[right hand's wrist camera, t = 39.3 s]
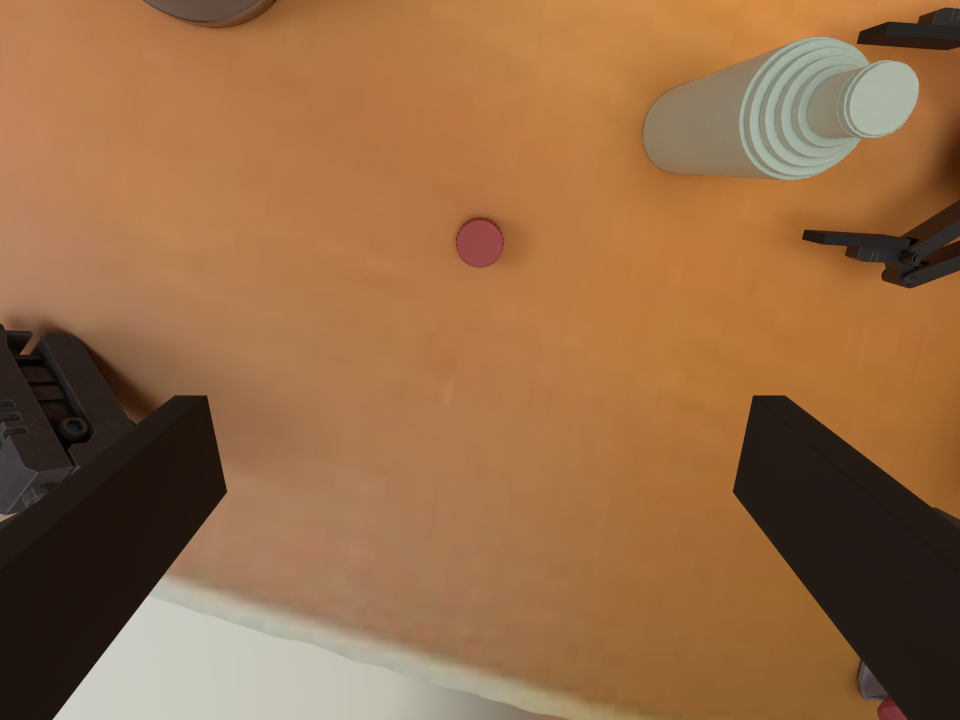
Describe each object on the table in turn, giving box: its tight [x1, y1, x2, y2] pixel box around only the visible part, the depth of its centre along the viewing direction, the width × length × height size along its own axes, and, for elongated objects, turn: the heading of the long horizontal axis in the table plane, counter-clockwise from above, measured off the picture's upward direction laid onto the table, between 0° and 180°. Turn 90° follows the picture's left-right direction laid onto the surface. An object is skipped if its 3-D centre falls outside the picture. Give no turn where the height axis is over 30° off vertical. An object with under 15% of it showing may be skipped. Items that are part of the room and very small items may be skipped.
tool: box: [0, 324, 136, 515], centre depth 47 cm, size 6×19×15 cm, turn 46°
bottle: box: [643, 36, 919, 180], centre depth 32 cm, size 7×7×23 cm
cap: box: [456, 218, 504, 267], centre depth 45 cm, size 4×4×2 cm
